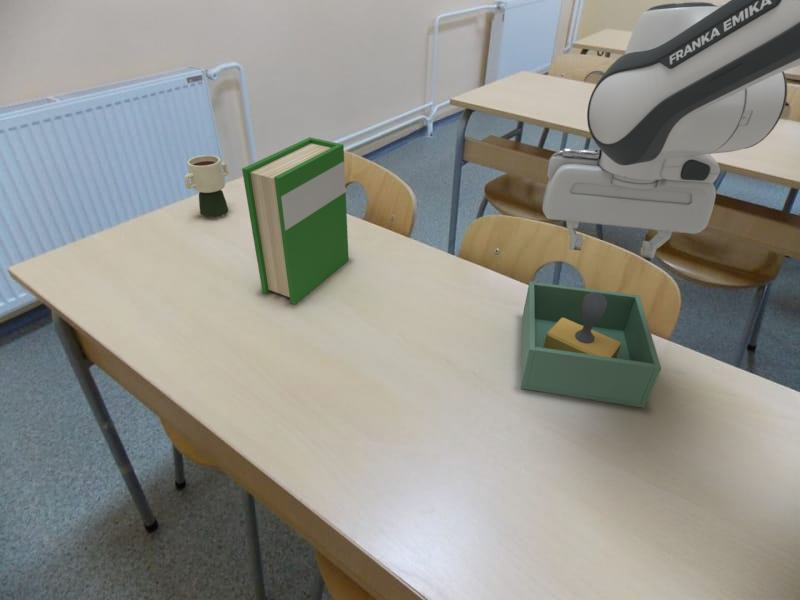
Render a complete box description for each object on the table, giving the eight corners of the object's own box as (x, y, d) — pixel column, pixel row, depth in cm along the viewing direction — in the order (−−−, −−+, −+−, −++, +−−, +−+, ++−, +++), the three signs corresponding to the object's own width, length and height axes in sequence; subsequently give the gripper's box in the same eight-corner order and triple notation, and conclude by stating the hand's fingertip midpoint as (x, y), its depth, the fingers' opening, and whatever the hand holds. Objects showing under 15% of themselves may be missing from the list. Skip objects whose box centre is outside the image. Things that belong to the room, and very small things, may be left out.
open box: (626, 332, 89) (639, 295, 84) (644, 408, 75) (661, 368, 70) (522, 318, 91) (529, 281, 87) (520, 388, 77) (529, 349, 73)
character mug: (224, 202, 126) (214, 150, 119) (243, 210, 123) (234, 157, 115) (185, 217, 119) (172, 163, 112) (204, 227, 116) (191, 171, 108)
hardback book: (294, 304, 93) (278, 178, 79) (262, 292, 96) (242, 168, 82) (348, 260, 106) (343, 144, 92) (319, 250, 108) (309, 137, 94)
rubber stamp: (616, 359, 82) (638, 298, 75) (601, 379, 78) (623, 316, 71) (557, 333, 87) (573, 273, 80) (541, 350, 83) (556, 289, 76)
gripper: (552, 155, 62) (533, 254, 70) (735, 170, 59) (694, 272, 67) (550, 138, 67) (533, 233, 75) (719, 151, 64) (682, 249, 72)
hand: (610, 252), depth 71 cm, fingers open, 8 cm apart
